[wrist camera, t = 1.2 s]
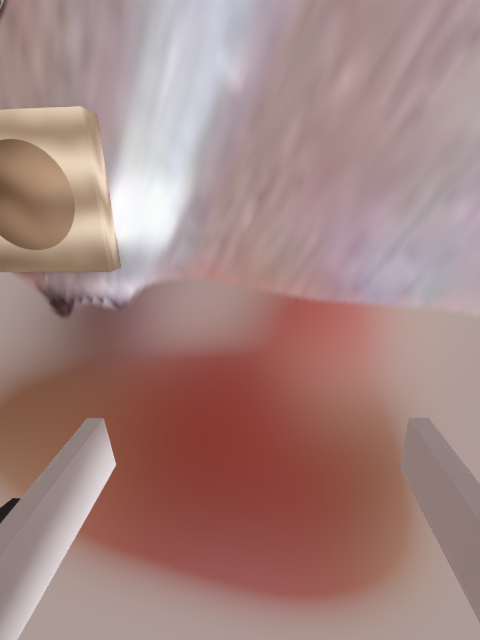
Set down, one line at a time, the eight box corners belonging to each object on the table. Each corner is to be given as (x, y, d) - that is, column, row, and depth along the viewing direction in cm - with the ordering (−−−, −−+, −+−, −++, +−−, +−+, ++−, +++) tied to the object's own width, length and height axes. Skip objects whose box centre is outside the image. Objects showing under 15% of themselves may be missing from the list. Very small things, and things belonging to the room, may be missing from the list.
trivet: (-45, 120, 33) (-74, 112, 30) (97, 115, 32) (80, 106, 29) (-1, 267, 38) (-22, 272, 35) (120, 267, 37) (108, 272, 34)
